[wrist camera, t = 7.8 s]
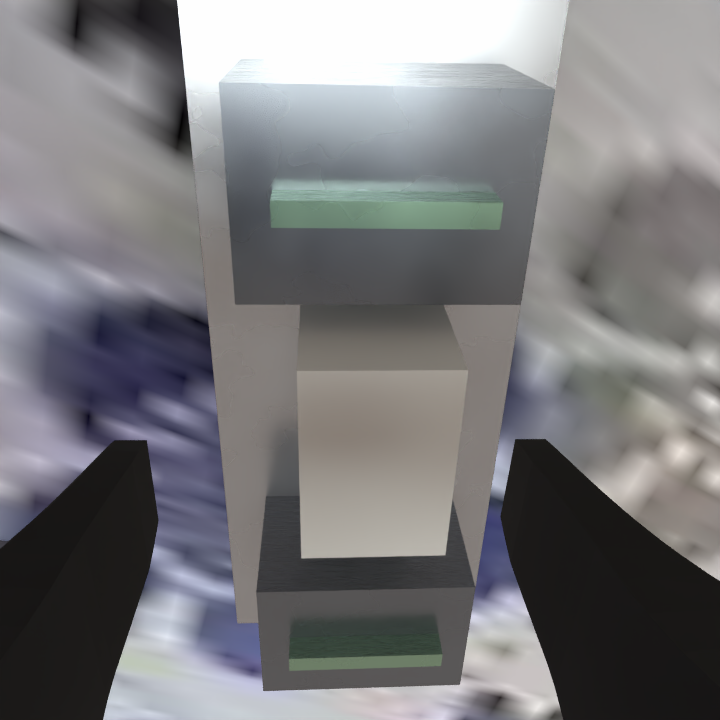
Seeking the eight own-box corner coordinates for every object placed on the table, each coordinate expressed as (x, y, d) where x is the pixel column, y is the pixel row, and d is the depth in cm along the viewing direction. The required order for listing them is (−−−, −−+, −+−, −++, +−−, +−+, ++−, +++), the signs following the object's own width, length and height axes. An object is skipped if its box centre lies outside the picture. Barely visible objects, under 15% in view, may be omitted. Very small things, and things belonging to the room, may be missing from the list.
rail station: (239, 611, 29) (222, 748, 24) (178, -32, 17) (119, -35, 12) (467, 605, 30) (499, 737, 24) (565, -20, 18) (665, -18, 12)
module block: (305, 439, 24) (301, 568, 19) (302, 271, 21) (296, 371, 15) (417, 437, 24) (444, 565, 19) (431, 271, 21) (468, 370, 16)
